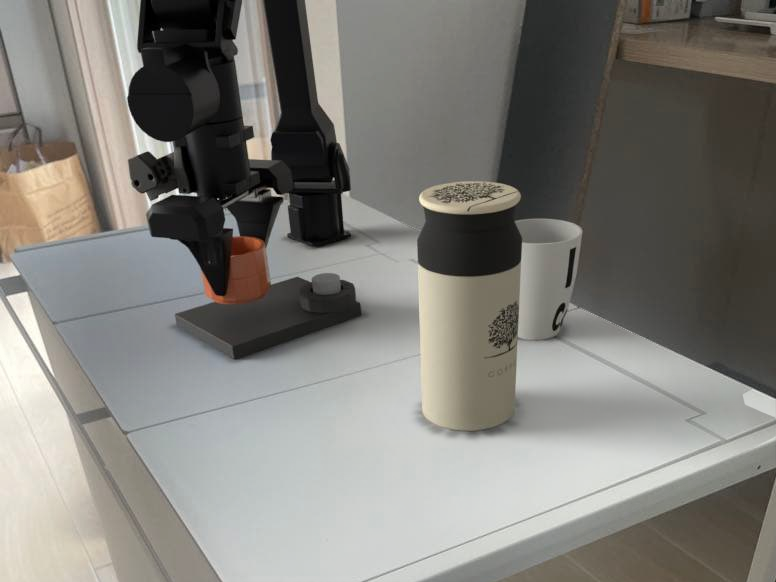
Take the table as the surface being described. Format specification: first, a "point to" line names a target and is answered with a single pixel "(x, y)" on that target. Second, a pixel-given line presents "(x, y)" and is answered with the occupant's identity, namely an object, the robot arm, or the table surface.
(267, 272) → the bowl
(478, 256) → the travel mug
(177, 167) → the robot arm
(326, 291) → the button
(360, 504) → the table surface
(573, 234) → the cup
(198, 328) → the scale
